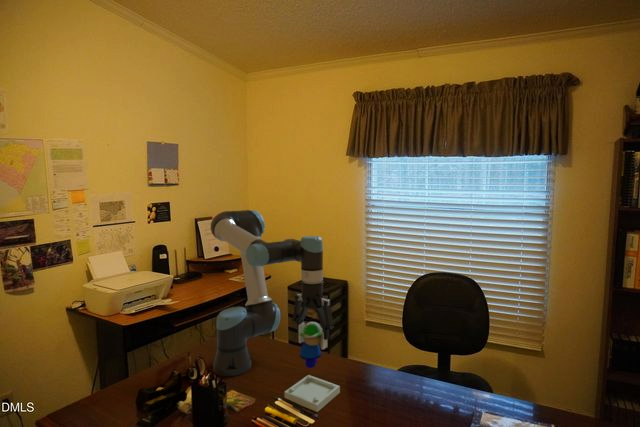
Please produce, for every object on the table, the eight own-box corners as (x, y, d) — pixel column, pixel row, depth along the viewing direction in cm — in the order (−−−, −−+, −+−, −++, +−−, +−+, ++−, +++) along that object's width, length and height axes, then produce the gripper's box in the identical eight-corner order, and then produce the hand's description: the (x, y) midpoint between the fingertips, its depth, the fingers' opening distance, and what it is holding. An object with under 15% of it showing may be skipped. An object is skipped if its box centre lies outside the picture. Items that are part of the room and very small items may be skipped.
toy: (323, 371, 122) (322, 327, 121) (296, 369, 124) (296, 326, 123) (328, 359, 131) (327, 318, 130) (303, 357, 133) (302, 317, 132)
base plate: (284, 398, 127) (284, 390, 126) (308, 380, 138) (308, 373, 138) (317, 412, 119) (317, 403, 118) (339, 392, 130) (339, 384, 130)
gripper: (281, 279, 129) (282, 341, 130) (332, 288, 116) (333, 356, 118) (294, 275, 135) (295, 334, 136) (344, 283, 123) (345, 348, 124)
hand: (312, 344), depth 127 cm, fingers closed on toy, 9 cm apart
